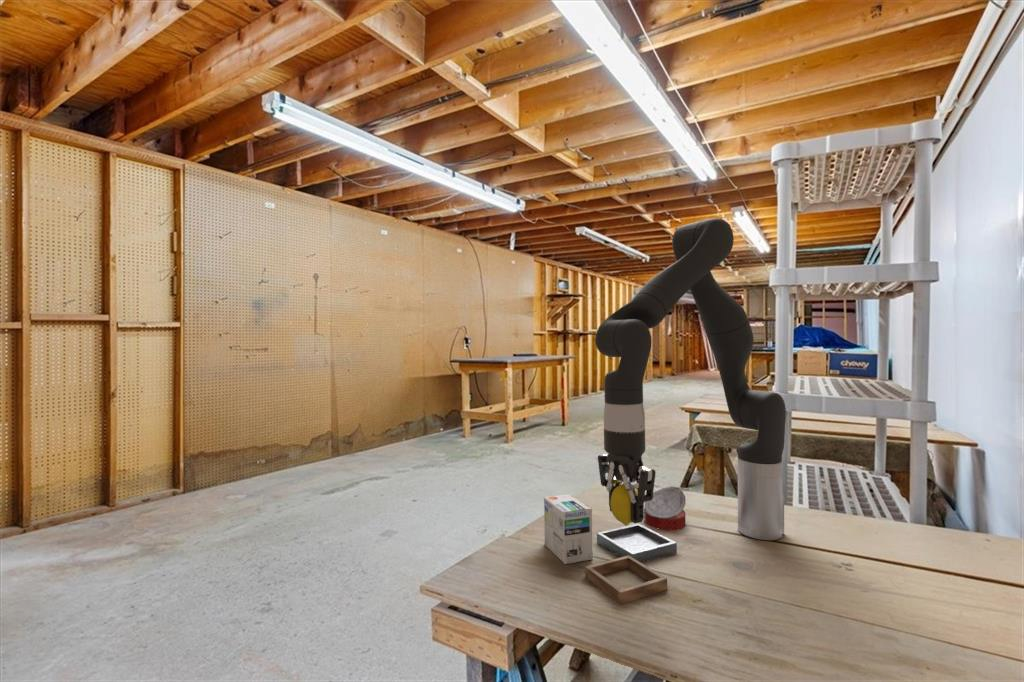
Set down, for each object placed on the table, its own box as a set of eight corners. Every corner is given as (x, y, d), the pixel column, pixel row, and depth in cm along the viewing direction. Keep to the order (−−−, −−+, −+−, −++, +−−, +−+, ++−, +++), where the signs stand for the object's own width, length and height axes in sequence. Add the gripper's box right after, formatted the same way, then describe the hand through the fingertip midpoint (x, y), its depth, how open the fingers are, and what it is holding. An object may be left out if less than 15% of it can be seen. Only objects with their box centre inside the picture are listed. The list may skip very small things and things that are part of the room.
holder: (628, 565, 97) (628, 555, 97) (667, 589, 88) (667, 578, 88) (585, 577, 93) (585, 566, 93) (620, 604, 83) (620, 592, 83)
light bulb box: (593, 560, 100) (593, 508, 100) (564, 565, 98) (564, 512, 98) (570, 540, 110) (569, 492, 110) (543, 544, 108) (542, 496, 108)
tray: (638, 532, 114) (638, 523, 114) (676, 553, 103) (676, 542, 103) (596, 542, 108) (596, 532, 108) (632, 565, 98) (632, 554, 98)
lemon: (643, 522, 92) (642, 480, 92) (638, 533, 87) (637, 489, 87) (614, 518, 94) (613, 477, 94) (607, 528, 89) (606, 485, 89)
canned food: (686, 546, 117) (697, 517, 112) (644, 541, 117) (654, 512, 112) (675, 510, 127) (684, 481, 122) (636, 505, 127) (645, 477, 122)
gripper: (667, 431, 85) (669, 526, 86) (615, 418, 98) (617, 501, 99) (634, 435, 82) (635, 534, 82) (585, 422, 95) (586, 508, 95)
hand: (625, 516), depth 90 cm, fingers closed on lemon, 5 cm apart
